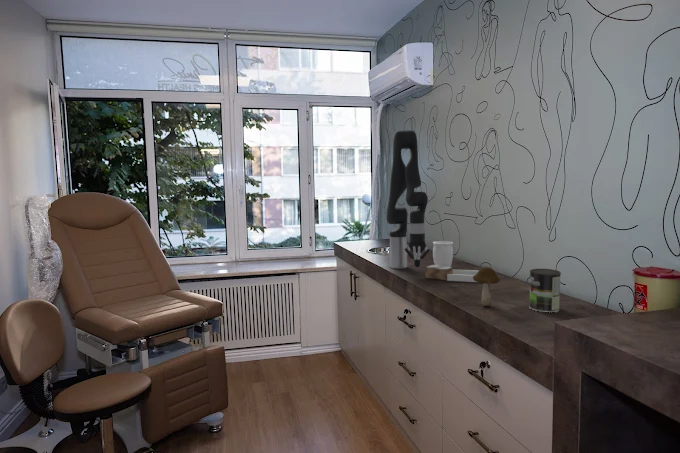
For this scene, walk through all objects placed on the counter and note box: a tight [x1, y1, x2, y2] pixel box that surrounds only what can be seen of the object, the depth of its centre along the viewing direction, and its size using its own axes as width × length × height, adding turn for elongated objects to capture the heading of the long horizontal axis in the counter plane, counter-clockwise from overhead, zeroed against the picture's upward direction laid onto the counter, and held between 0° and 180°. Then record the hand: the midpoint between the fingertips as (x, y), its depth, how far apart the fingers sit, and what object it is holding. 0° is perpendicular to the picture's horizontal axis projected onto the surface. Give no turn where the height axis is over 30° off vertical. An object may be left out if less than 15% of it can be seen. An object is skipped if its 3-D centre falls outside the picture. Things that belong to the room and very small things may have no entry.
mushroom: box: [473, 266, 501, 307], centre depth 173 cm, size 9×11×15 cm
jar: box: [432, 240, 454, 267], centre depth 240 cm, size 11×10×15 cm
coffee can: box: [528, 268, 562, 314], centre depth 167 cm, size 10×10×14 cm
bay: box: [446, 268, 479, 283], centre depth 220 cm, size 15×12×3 cm
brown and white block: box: [425, 264, 454, 281], centre depth 223 cm, size 11×7×6 cm, turn 51°
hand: (417, 266), depth 226 cm, fingers closed
